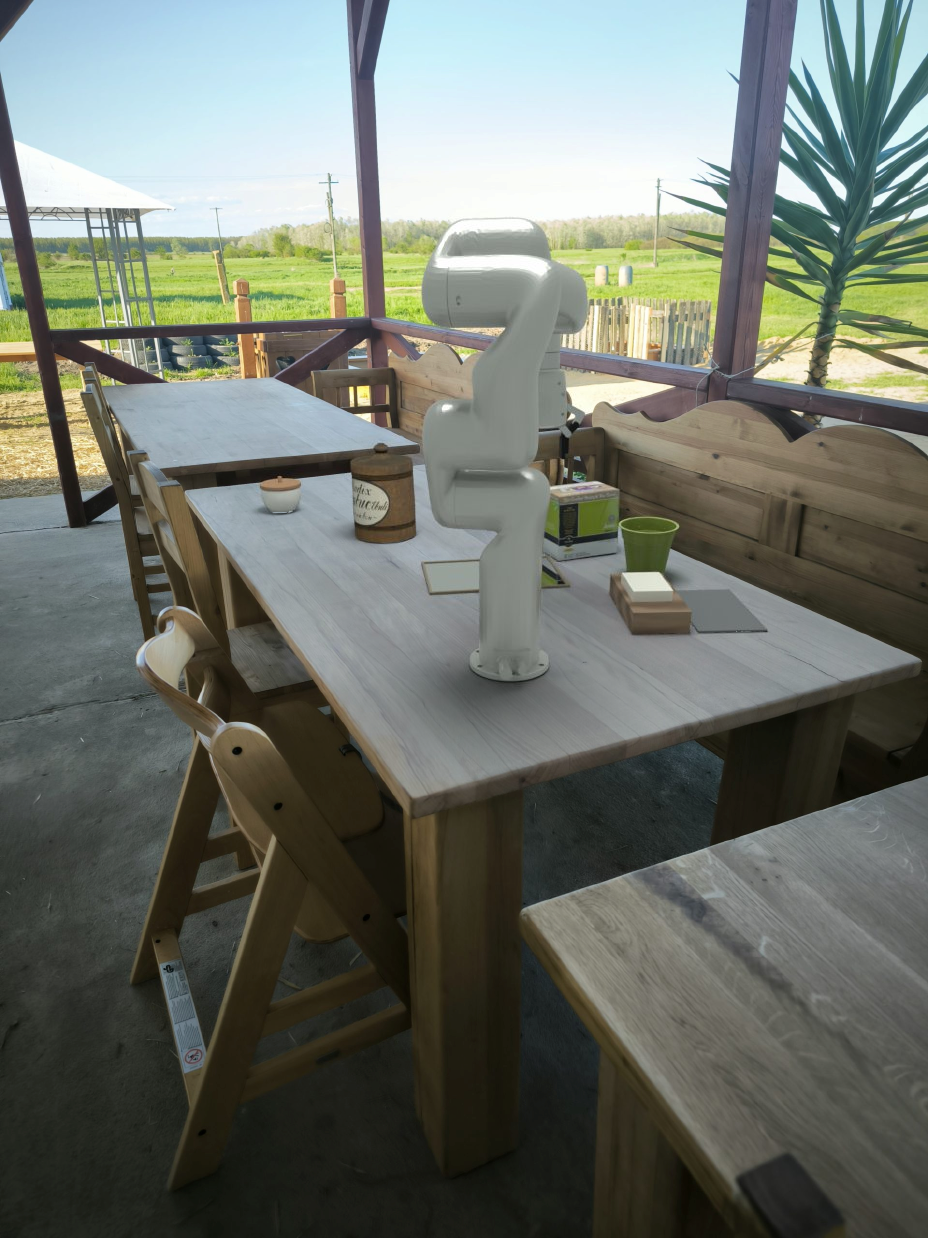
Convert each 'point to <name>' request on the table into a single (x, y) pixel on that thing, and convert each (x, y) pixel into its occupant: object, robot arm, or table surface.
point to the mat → (719, 611)
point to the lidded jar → (281, 494)
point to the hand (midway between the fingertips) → (536, 458)
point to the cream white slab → (646, 587)
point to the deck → (650, 611)
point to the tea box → (582, 520)
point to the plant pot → (647, 543)
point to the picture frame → (477, 576)
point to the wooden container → (383, 497)
